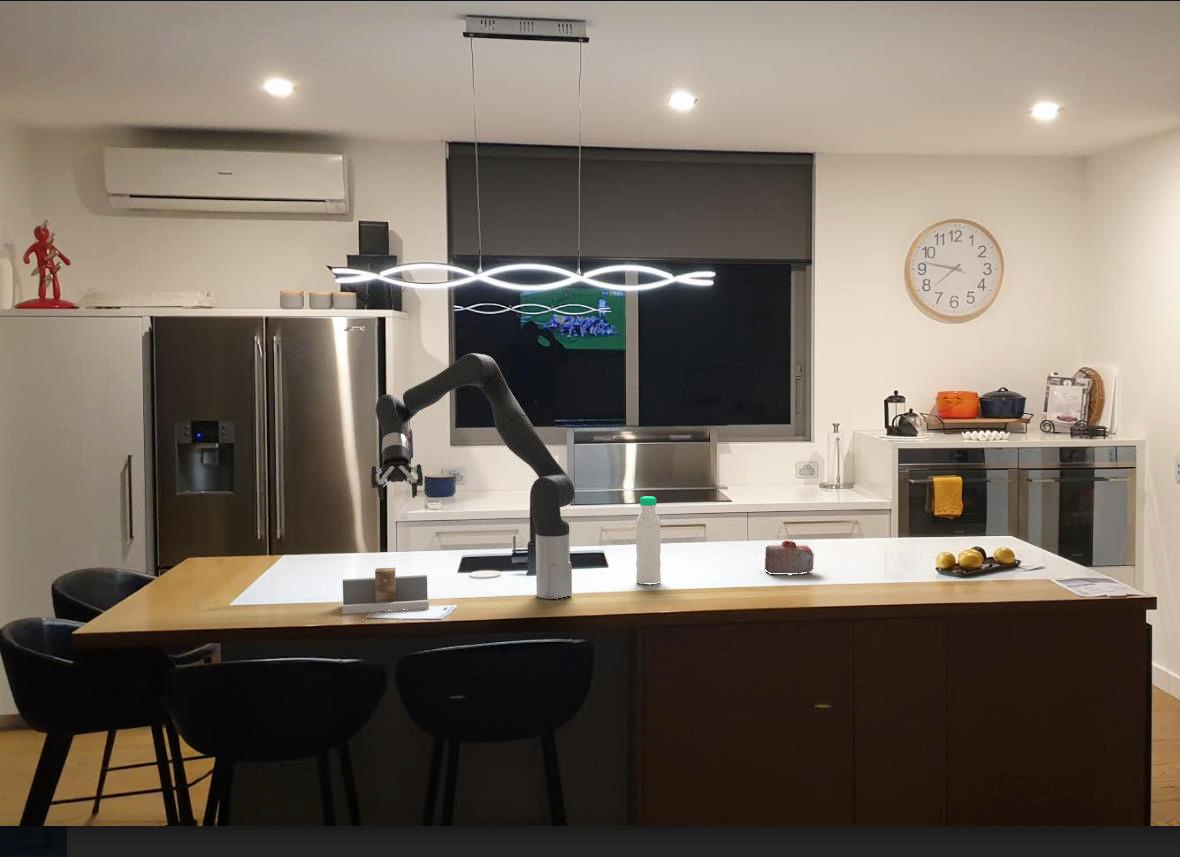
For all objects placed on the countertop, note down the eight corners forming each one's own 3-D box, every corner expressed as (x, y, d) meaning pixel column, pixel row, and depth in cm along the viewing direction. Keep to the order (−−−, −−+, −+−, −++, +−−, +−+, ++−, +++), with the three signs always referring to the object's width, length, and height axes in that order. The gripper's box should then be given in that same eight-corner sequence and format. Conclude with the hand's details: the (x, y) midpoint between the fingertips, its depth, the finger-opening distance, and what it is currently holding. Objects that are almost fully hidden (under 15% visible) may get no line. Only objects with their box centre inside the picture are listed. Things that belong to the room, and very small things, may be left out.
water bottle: (659, 579, 290) (659, 495, 288) (662, 585, 283) (661, 498, 281) (635, 580, 289) (634, 495, 287) (637, 585, 282) (636, 499, 280)
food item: (807, 569, 301) (807, 537, 300) (815, 575, 293) (815, 542, 292) (763, 571, 300) (763, 538, 299) (769, 576, 292) (769, 543, 292)
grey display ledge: (427, 600, 268) (426, 574, 268) (428, 608, 259) (428, 582, 259) (343, 605, 264) (342, 579, 263) (342, 614, 255) (341, 587, 254)
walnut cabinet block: (396, 604, 264) (395, 567, 263) (395, 609, 259) (394, 571, 258) (377, 605, 263) (376, 568, 263) (375, 610, 258) (374, 572, 258)
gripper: (369, 444, 280) (371, 490, 269) (420, 442, 283) (424, 487, 272) (370, 461, 285) (372, 506, 275) (420, 459, 288) (424, 503, 278)
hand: (398, 497), depth 274 cm, fingers open, 8 cm apart
